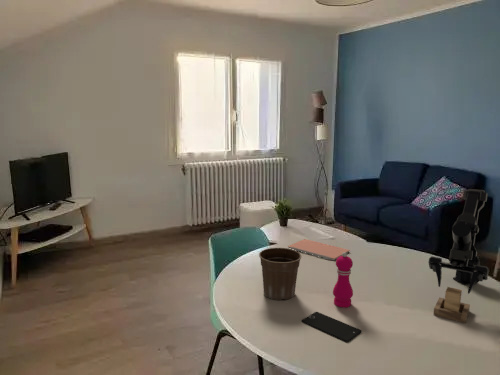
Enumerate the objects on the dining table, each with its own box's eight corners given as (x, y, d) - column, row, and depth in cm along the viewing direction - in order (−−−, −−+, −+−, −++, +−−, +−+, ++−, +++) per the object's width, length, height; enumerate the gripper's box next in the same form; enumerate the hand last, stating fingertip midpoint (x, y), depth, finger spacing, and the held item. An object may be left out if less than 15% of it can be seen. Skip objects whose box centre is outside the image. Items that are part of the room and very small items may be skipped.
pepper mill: (353, 300, 151) (355, 250, 147) (351, 309, 144) (354, 256, 140) (333, 297, 153) (335, 248, 149) (331, 306, 146) (333, 254, 143)
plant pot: (305, 289, 161) (306, 250, 158) (292, 306, 146) (293, 265, 143) (268, 282, 168) (268, 245, 165) (252, 298, 153) (252, 258, 150)
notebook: (286, 249, 208) (286, 246, 207) (304, 241, 220) (304, 238, 220) (332, 262, 190) (333, 258, 190) (349, 253, 202) (349, 249, 202)
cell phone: (316, 313, 142) (316, 311, 142) (361, 332, 130) (362, 330, 130) (300, 322, 136) (300, 320, 136) (347, 343, 124) (347, 341, 123)
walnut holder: (438, 303, 148) (439, 297, 148) (469, 311, 143) (469, 304, 142) (433, 314, 140) (434, 308, 140) (465, 323, 135) (466, 316, 134)
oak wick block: (445, 308, 145) (447, 286, 143) (459, 312, 142) (461, 289, 140) (443, 313, 141) (445, 291, 139) (457, 317, 138) (460, 294, 137)
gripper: (431, 235, 146) (422, 273, 139) (491, 244, 135) (484, 286, 128) (434, 249, 153) (425, 286, 147) (490, 259, 143) (484, 300, 136)
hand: (453, 289), depth 139 cm, fingers open, 9 cm apart
